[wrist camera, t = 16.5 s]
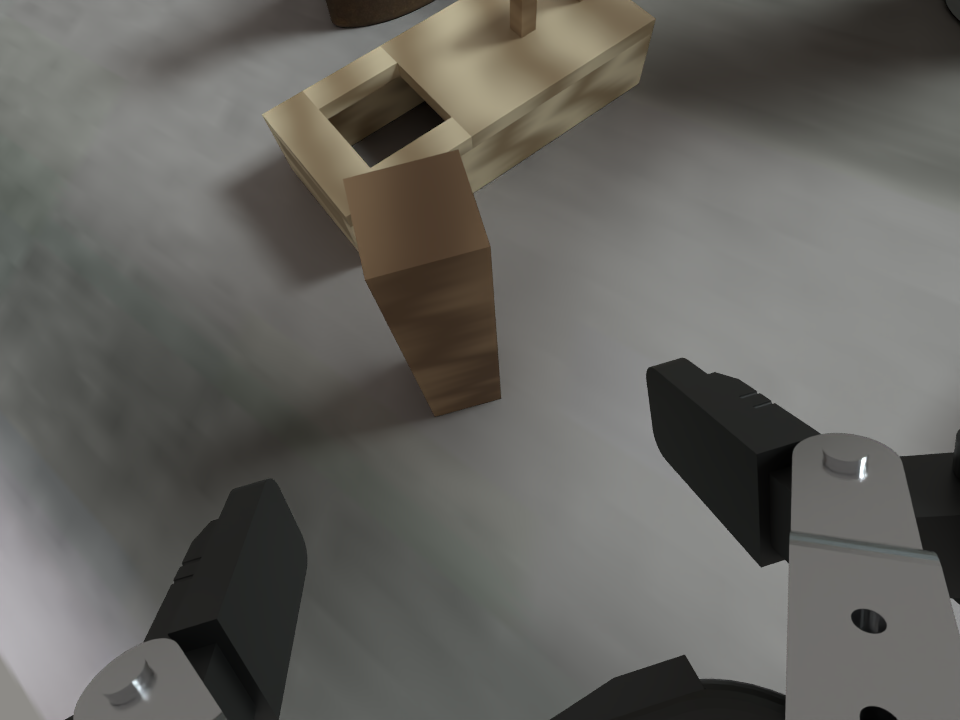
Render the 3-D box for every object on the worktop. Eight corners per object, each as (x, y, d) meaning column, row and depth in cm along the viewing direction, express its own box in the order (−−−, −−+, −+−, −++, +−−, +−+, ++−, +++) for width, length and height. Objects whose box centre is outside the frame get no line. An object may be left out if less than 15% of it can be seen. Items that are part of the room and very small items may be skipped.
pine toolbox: (550, 11, 43) (560, -139, 34) (638, 83, 40) (676, -62, 31) (292, 169, 39) (224, 45, 30) (367, 263, 36) (317, 157, 26)
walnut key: (482, 338, 33) (458, 149, 18) (501, 398, 32) (490, 246, 17) (419, 355, 33) (342, 178, 18) (434, 416, 32) (364, 280, 17)
